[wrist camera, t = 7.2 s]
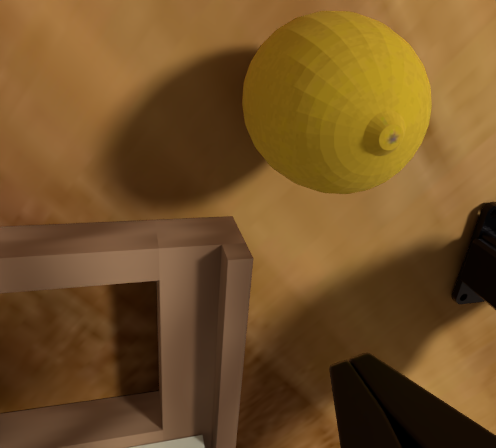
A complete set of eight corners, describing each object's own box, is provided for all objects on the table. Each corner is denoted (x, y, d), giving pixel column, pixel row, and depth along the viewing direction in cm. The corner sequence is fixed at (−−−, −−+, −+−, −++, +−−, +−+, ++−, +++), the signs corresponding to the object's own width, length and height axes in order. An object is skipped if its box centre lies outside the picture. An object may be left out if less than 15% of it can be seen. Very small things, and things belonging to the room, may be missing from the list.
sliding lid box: (232, 216, 20) (253, 258, 17) (215, 484, 29) (226, 545, 26) (-194, 235, 16) (-273, 296, 13) (-60, 541, 25) (-86, 621, 22)
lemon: (254, 169, 19) (328, 267, 12) (198, 47, 16) (254, 85, 9) (364, 112, 19) (499, 177, 12) (328, -20, 16) (477, -29, 9)
